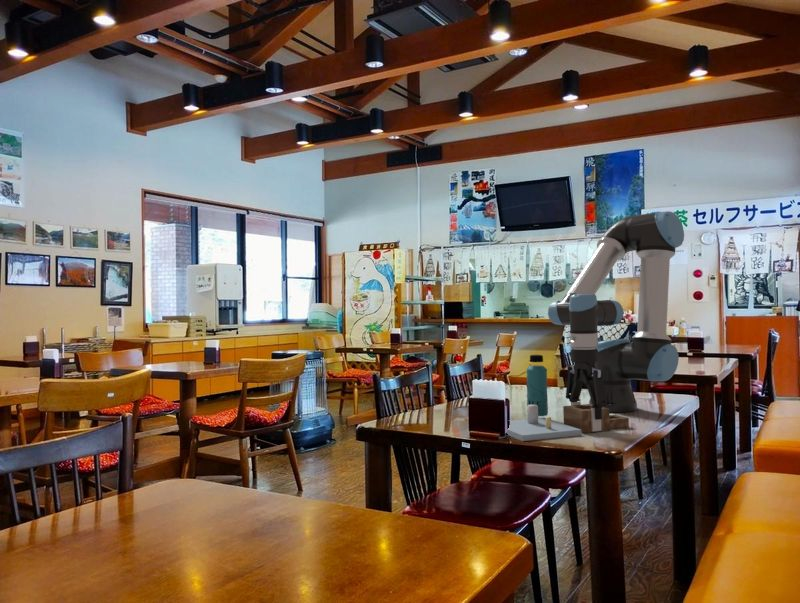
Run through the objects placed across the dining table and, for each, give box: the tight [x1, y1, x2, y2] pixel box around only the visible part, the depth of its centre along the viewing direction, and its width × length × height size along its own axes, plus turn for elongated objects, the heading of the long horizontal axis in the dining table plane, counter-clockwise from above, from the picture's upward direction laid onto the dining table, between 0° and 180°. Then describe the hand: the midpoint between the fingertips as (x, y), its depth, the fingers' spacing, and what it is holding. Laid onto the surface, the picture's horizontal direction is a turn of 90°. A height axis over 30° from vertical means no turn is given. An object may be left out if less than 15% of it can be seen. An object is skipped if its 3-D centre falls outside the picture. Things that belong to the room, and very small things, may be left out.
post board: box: [507, 404, 582, 442], centre depth 172 cm, size 18×19×6 cm
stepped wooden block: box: [562, 403, 630, 434], centre depth 175 cm, size 16×9×6 cm, turn 108°
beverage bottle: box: [526, 354, 549, 417], centre depth 190 cm, size 6×7×20 cm
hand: (586, 427), depth 174 cm, fingers closed on stepped wooden block, 9 cm apart
